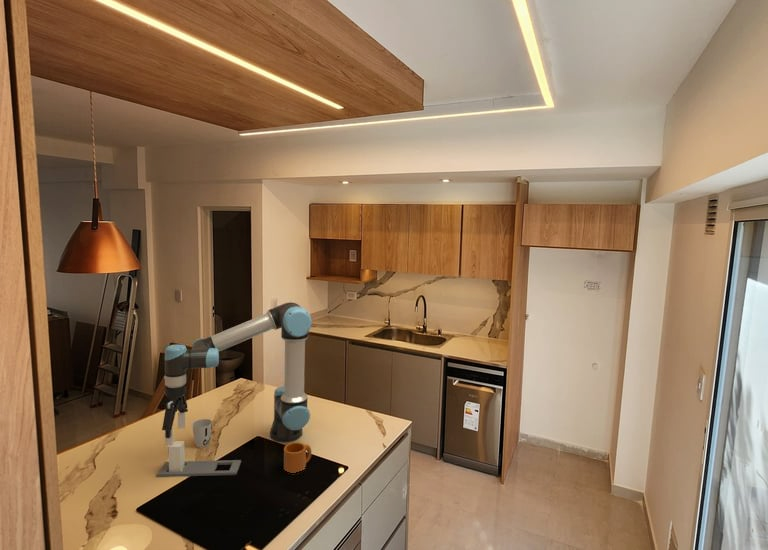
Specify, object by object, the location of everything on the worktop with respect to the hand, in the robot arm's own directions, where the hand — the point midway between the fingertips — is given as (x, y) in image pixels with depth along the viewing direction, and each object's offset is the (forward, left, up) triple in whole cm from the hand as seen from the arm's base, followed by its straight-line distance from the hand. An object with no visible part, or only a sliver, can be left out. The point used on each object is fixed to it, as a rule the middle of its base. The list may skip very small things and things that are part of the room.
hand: (175, 436), depth 170 cm
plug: (0, 0, -14) cm, 14 cm away
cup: (-4, -20, -15) cm, 25 cm away
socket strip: (-9, 0, -14) cm, 17 cm away
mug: (-48, 0, -15) cm, 50 cm away
